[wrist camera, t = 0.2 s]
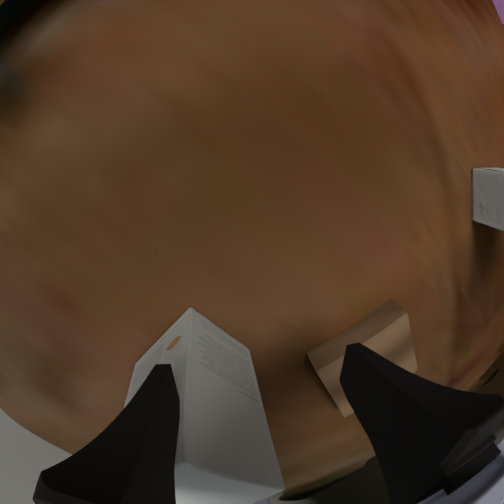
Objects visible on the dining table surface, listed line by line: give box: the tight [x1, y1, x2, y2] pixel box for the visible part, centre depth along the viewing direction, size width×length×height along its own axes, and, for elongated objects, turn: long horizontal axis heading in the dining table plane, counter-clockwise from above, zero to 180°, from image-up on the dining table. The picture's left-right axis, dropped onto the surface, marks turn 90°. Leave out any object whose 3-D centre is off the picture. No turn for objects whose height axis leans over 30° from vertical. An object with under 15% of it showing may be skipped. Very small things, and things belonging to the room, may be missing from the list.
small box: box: [124, 307, 285, 504], centre depth 15 cm, size 8×6×13 cm
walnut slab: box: [307, 300, 417, 418], centre depth 23 cm, size 9×9×3 cm
